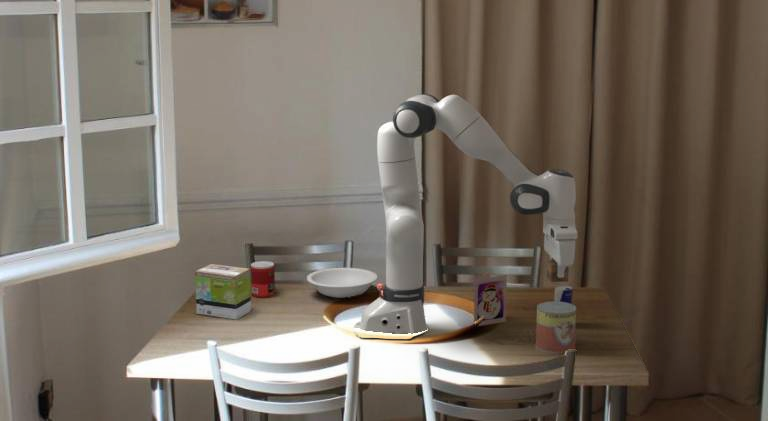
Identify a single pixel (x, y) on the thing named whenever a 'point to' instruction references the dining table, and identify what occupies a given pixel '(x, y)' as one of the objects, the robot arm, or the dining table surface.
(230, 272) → the tea box
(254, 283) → the canned food
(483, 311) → the greeting card
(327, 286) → the soup bowl
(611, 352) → the dining table surface
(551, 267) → the walnut block
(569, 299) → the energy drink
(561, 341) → the canned food
